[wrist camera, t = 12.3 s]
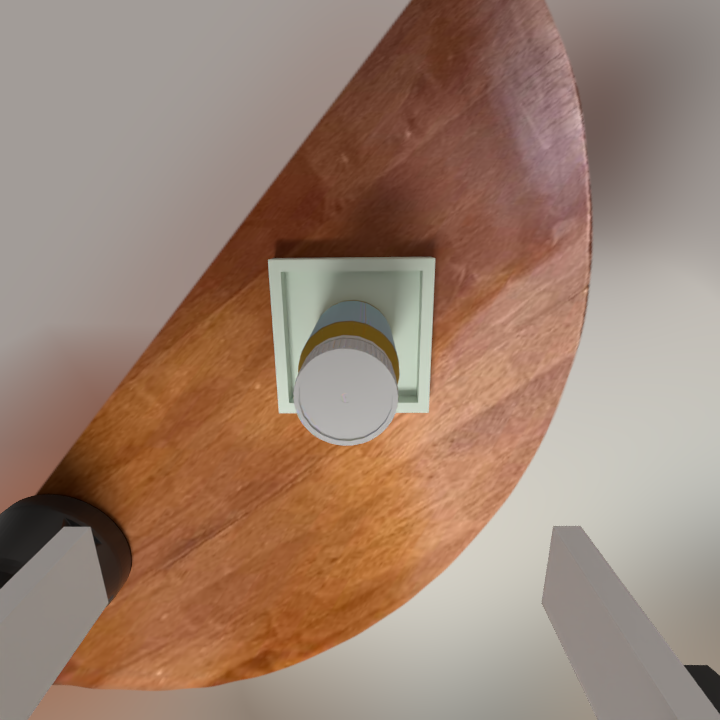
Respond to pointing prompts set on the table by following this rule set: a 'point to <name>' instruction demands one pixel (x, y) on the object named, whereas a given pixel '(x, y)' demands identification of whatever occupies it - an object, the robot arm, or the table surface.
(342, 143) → the table surface
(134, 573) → the table surface
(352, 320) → the bottle
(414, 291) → the pale green square tray
